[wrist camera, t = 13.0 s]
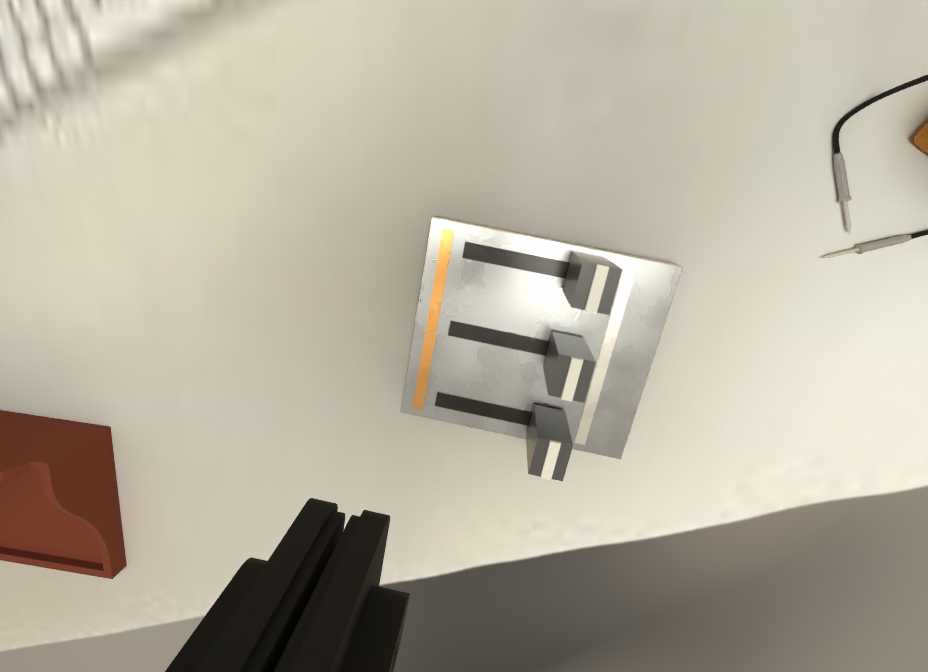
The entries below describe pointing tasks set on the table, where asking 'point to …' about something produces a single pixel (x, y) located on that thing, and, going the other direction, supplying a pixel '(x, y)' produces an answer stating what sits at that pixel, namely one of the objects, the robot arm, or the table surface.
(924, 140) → the multimeter
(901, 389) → the table surface
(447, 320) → the panel
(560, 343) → the breaker mid
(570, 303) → the block
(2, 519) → the hanging shelf
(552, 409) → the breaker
